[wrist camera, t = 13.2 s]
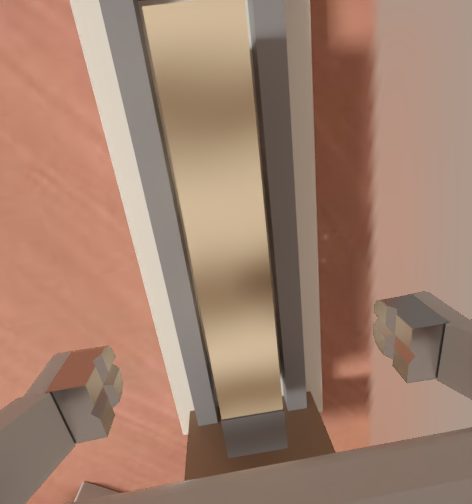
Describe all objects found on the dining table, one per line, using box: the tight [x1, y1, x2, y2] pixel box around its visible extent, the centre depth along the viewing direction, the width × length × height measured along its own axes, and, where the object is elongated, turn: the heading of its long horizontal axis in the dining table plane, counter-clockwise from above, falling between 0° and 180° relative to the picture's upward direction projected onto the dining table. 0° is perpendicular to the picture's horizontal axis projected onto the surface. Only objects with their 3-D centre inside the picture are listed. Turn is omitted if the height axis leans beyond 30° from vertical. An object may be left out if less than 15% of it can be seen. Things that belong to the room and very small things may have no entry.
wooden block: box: [142, 0, 288, 458], centre depth 17 cm, size 22×4×6 cm, turn 7°
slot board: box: [70, 0, 336, 481], centre depth 15 cm, size 32×12×11 cm, turn 7°
